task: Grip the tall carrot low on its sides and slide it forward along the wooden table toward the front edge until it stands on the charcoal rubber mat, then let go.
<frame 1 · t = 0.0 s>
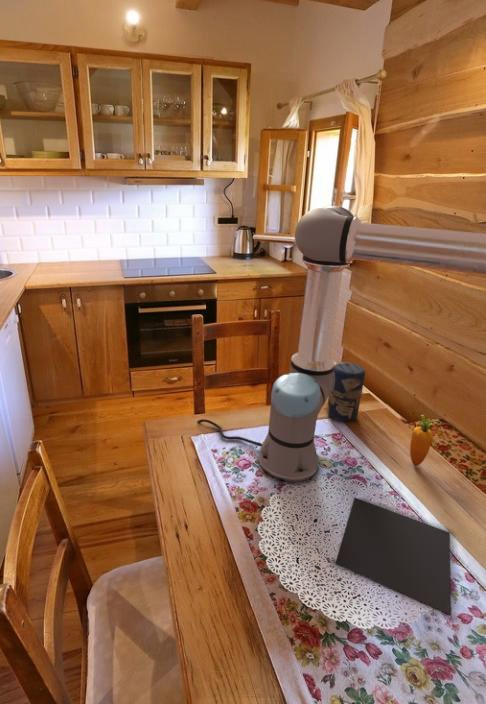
canister: (341, 415, 130), on the table
carrot: (414, 466, 108), on the table
mat: (395, 547, 83), on the table
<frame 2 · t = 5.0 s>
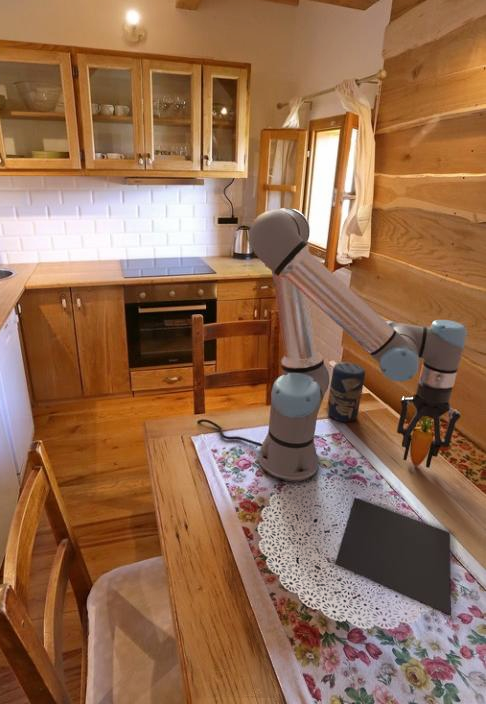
hand: (416, 460, 107), 2 cm above the table, tool pointing down, fingers closed on carrot, 5 cm apart
carrot: (414, 466, 108), on the table, touching gripper
everything else where it was.
when the fingers open (2 cm above the table, at t = 12.8 s): carrot stays where it is, resting on mat.
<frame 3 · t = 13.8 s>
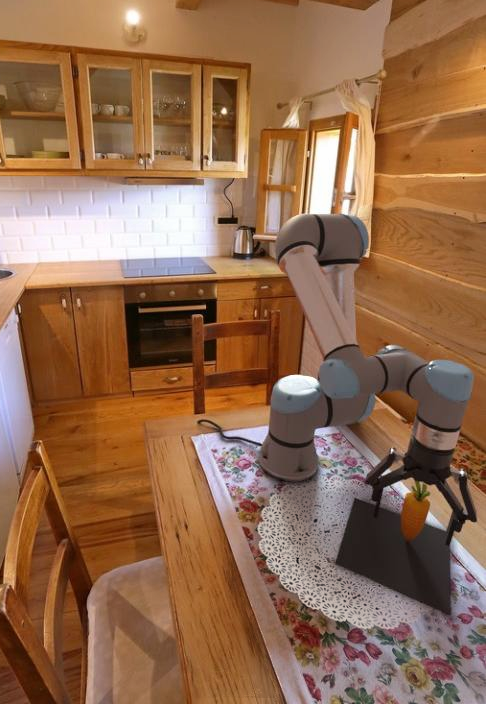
hand: (410, 526, 84), 4 cm above the table, tool pointing down, fingers open, 13 cm apart
carrot: (406, 541, 85), resting on mat
everything else where it was.
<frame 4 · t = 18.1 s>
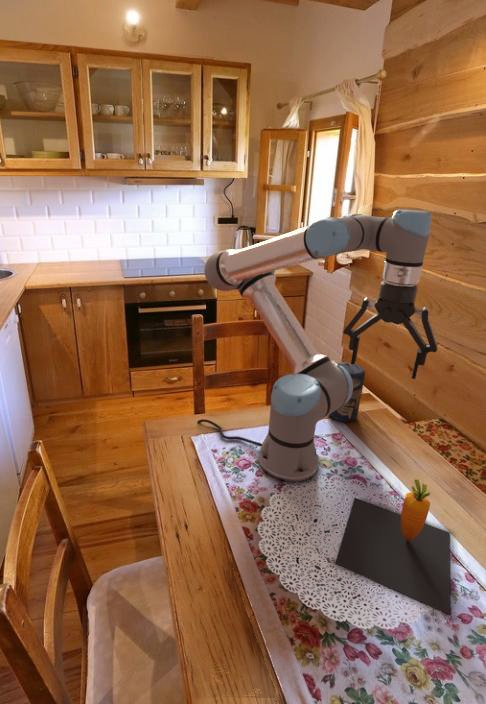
hand: (382, 369, 97), 29 cm above the table, tool pointing down, fingers open, 13 cm apart
nothing on the table moved.
at the end: carrot inside the target area on the mat (3.6 cm from its centre), point 0.0 cm above the mat's base; carrot tilted 0°; carrot moved 27.0 cm from its start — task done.
